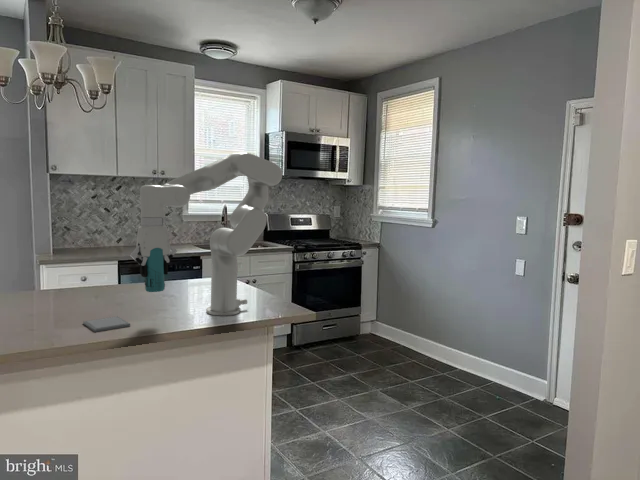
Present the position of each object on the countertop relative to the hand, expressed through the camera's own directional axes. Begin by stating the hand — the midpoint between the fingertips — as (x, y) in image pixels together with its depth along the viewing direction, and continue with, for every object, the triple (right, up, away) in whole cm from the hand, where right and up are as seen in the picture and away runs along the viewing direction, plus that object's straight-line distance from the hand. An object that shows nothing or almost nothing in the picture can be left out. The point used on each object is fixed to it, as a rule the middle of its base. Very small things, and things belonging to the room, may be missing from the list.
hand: (154, 274), depth 158 cm
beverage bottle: (0, -7, +1) cm, 7 cm away
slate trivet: (-14, -16, -4) cm, 22 cm away
